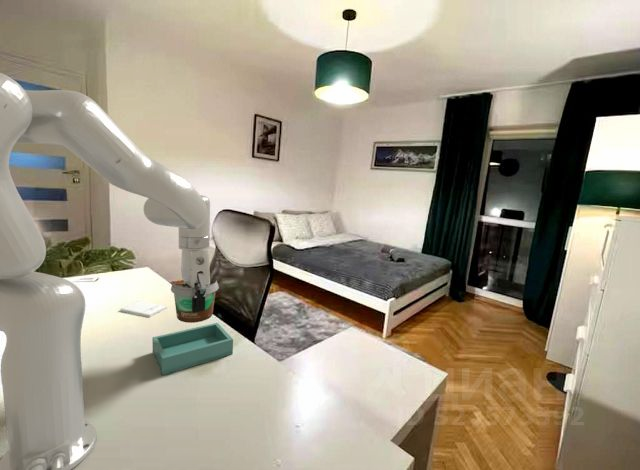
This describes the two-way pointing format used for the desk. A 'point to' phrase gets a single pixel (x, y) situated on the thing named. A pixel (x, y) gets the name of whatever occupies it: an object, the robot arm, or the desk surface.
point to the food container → (184, 302)
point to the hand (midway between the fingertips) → (193, 305)
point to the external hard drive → (143, 309)
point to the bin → (191, 347)
